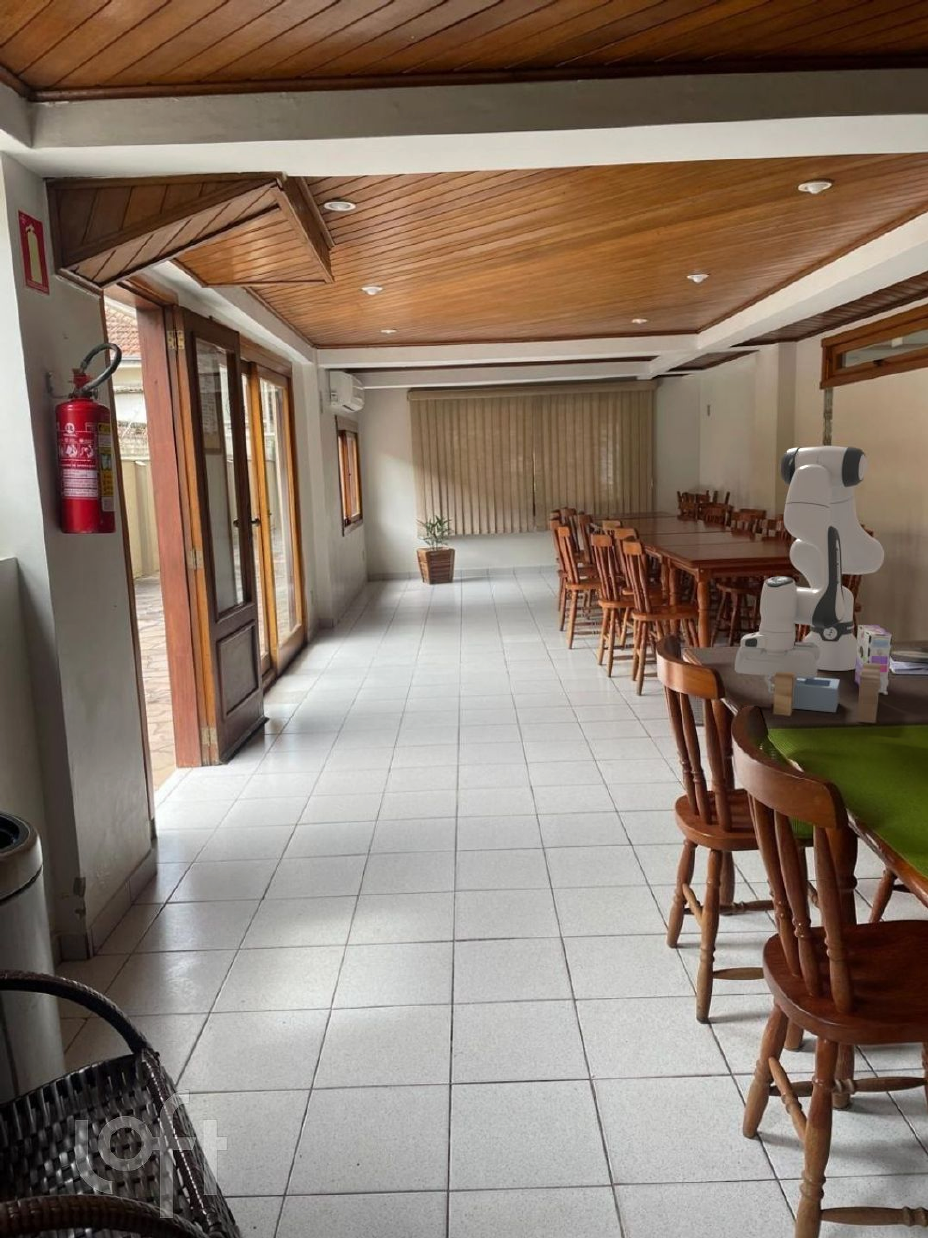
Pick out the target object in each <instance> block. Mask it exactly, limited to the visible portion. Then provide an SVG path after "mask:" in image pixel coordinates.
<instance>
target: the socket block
mask: <svg viewBox="0 0 928 1238" xmlns="http://www.w3.org/2000/svg"><path fill="white" fill-rule="evenodd" d="M840 682H841V681H840V679H838V678H825V677H817V676H816V677H815V678H814V679H803V678H796V681H795V683H794V684H793V705H792V709H798V710H807V711H817V712H827V713H837V709H838V705H839V699H840V698H839V697H840Z"/></svg>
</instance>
